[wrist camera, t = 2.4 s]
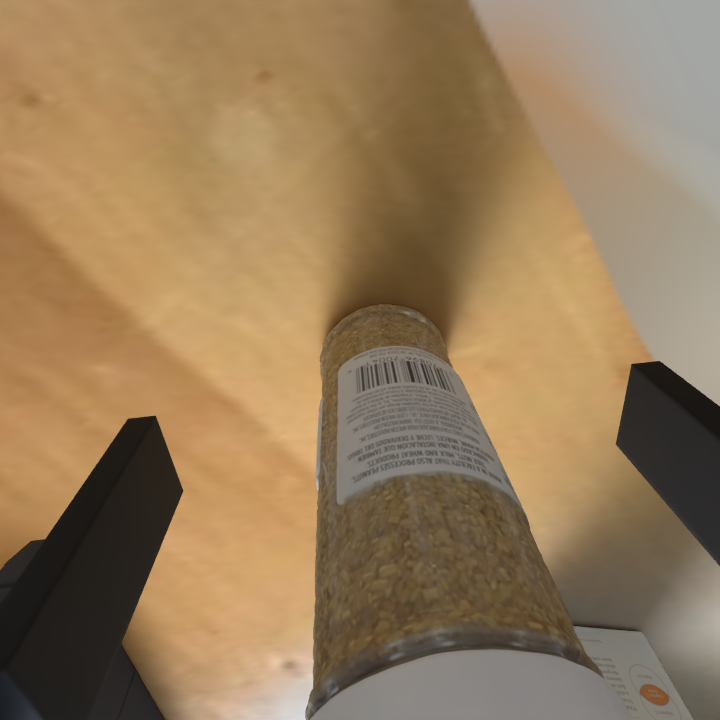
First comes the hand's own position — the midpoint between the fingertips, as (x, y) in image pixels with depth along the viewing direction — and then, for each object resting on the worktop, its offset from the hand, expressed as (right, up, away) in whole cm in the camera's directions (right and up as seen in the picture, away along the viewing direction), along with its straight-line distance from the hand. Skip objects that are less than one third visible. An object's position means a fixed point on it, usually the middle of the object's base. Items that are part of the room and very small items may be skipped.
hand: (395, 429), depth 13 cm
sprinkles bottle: (0, +2, +4) cm, 4 cm away
